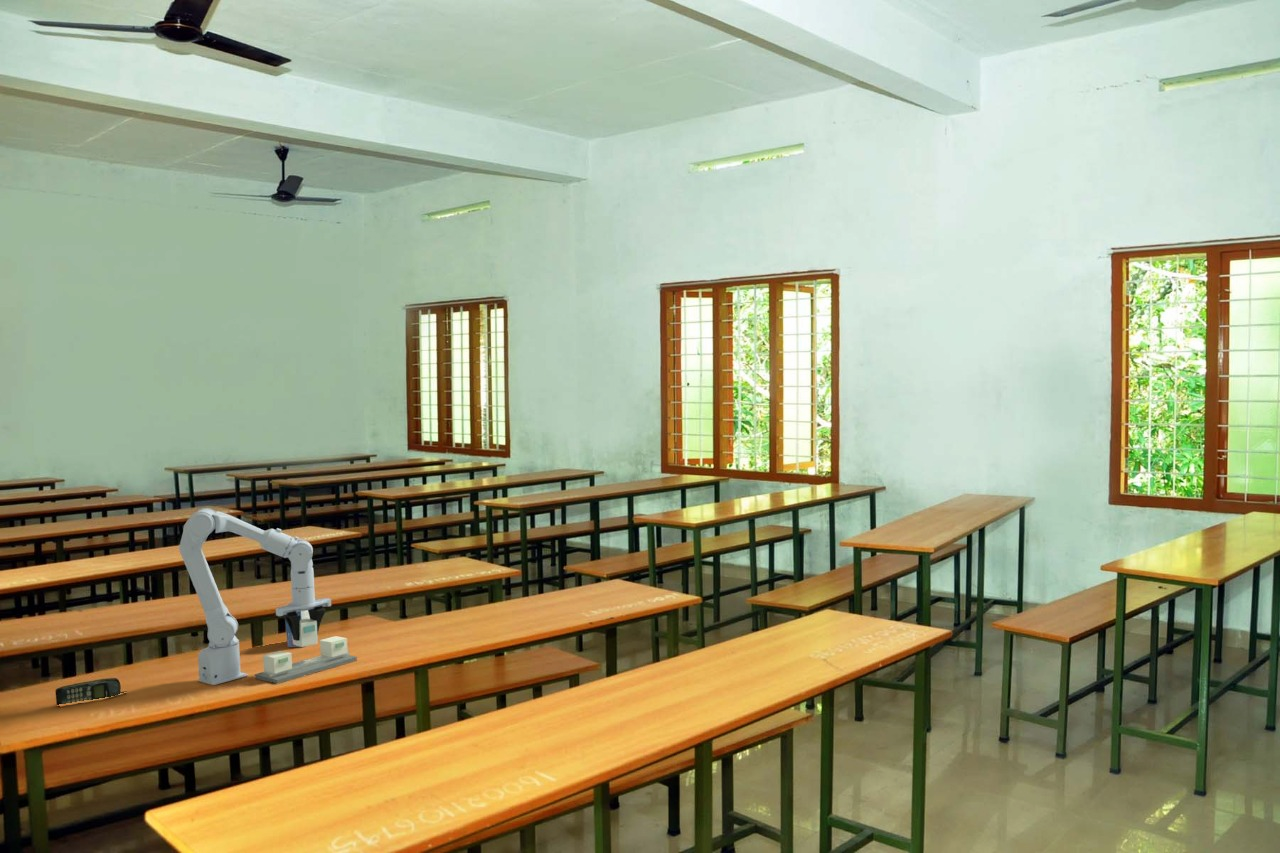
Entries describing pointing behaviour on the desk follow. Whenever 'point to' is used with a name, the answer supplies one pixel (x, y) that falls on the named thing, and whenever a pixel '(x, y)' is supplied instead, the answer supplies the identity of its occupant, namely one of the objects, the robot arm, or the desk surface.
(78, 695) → the mobile phone
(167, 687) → the desk surface
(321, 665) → the din board
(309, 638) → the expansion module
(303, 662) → the din rail
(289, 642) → the ink cartridge box
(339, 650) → the mounted modules
